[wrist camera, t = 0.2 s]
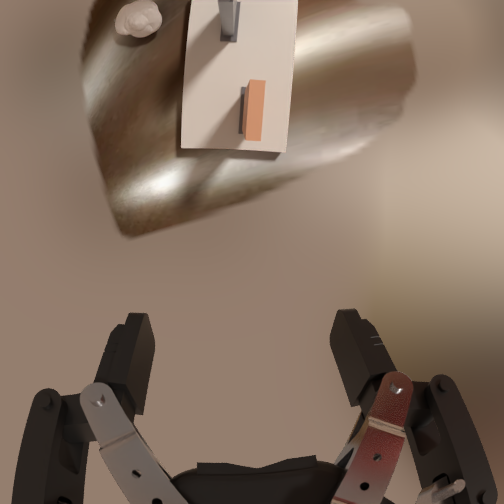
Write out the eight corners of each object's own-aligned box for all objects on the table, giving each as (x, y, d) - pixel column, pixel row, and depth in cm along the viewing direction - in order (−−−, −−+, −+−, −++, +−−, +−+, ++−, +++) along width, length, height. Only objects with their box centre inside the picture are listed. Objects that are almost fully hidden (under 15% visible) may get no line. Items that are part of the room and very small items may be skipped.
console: (195, -5, 24) (193, -11, 22) (295, 1, 25) (298, -5, 23) (183, 146, 35) (180, 148, 33) (283, 150, 36) (285, 152, 34)
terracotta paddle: (244, 90, 29) (250, 79, 19) (255, 91, 29) (265, 80, 19) (242, 130, 32) (245, 140, 21) (252, 130, 32) (260, 141, 21)
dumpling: (170, 6, 25) (163, -4, 21) (163, 38, 27) (155, 31, 24) (122, 10, 24) (111, 2, 20) (115, 41, 26) (103, 36, 23)
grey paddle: (226, 2, 23) (223, -42, 13) (237, 3, 23) (238, -42, 13) (223, 36, 26) (217, 1, 15) (233, 36, 26) (233, 1, 15)
